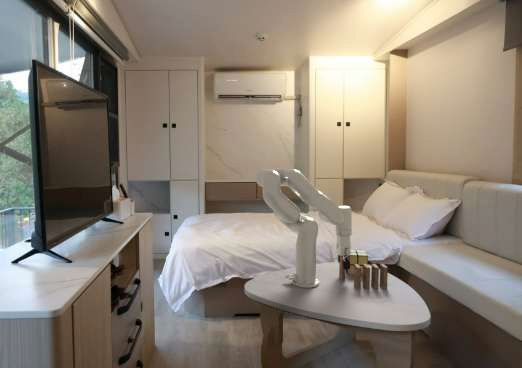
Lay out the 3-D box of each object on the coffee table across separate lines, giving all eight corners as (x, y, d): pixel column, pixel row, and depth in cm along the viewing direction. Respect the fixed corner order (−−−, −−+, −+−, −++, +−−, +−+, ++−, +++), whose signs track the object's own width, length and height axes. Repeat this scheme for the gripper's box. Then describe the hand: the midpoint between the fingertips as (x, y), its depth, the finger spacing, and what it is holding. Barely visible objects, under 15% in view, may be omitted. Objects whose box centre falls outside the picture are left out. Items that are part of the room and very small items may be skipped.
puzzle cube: (345, 267, 187) (345, 249, 186) (364, 268, 185) (365, 250, 184) (347, 274, 177) (347, 255, 176) (367, 275, 175) (368, 255, 174)
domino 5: (383, 289, 157) (384, 267, 156) (379, 284, 162) (380, 263, 161) (387, 289, 157) (387, 267, 156) (382, 284, 162) (383, 263, 161)
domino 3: (366, 289, 157) (366, 267, 156) (362, 285, 162) (363, 264, 161) (369, 289, 157) (370, 267, 156) (365, 285, 162) (366, 264, 161)
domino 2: (357, 289, 157) (357, 267, 156) (353, 285, 162) (354, 264, 161) (360, 289, 157) (361, 267, 156) (357, 285, 162) (357, 264, 161)
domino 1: (341, 280, 168) (342, 259, 167) (339, 276, 173) (339, 256, 172) (345, 280, 168) (345, 259, 167) (342, 276, 173) (342, 256, 172)
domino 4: (374, 289, 157) (375, 267, 156) (371, 285, 162) (371, 264, 161) (378, 289, 157) (379, 267, 156) (374, 284, 162) (375, 264, 161)
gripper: (331, 227, 177) (332, 260, 179) (340, 236, 160) (340, 272, 162) (346, 227, 177) (346, 259, 179) (356, 235, 160) (356, 271, 162)
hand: (343, 265), depth 170 cm, fingers open, 9 cm apart
